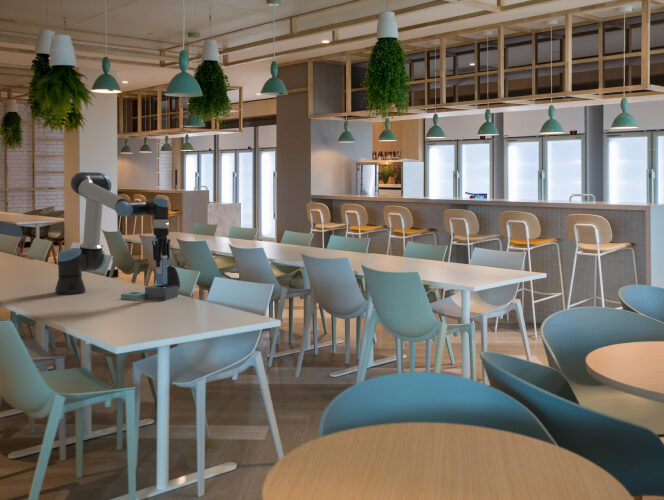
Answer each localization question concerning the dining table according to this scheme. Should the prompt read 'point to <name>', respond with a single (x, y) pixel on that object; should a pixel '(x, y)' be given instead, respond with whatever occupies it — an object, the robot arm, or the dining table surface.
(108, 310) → the dining table surface
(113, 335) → the dining table surface
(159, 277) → the plug
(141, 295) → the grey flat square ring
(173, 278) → the black egg shape
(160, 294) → the port
